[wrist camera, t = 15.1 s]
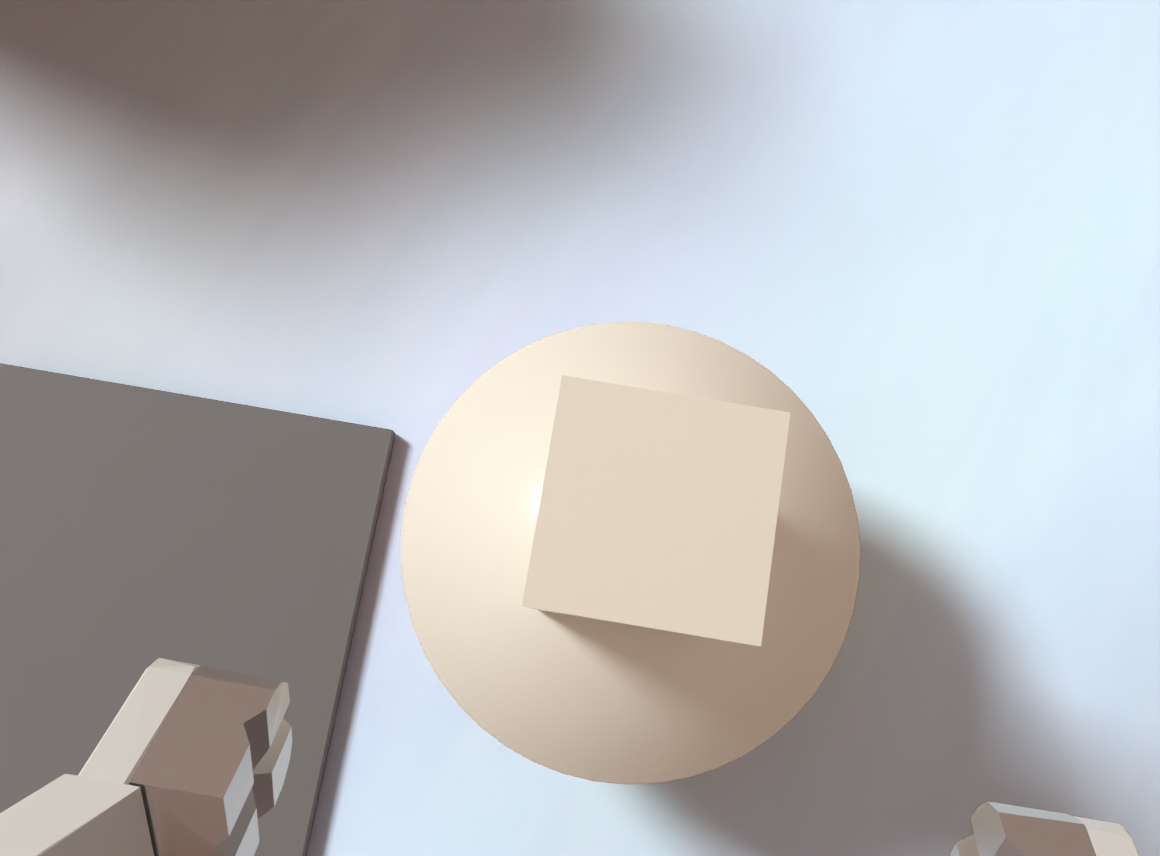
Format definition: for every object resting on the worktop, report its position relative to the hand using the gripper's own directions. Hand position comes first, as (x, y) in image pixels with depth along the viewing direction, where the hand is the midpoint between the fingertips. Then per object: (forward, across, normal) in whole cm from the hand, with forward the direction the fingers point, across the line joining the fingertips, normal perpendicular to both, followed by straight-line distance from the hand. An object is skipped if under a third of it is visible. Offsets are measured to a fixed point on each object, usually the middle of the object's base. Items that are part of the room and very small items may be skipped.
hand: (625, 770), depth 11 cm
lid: (+10, 0, +5) cm, 11 cm away
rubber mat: (+11, +13, +11) cm, 20 cm away
